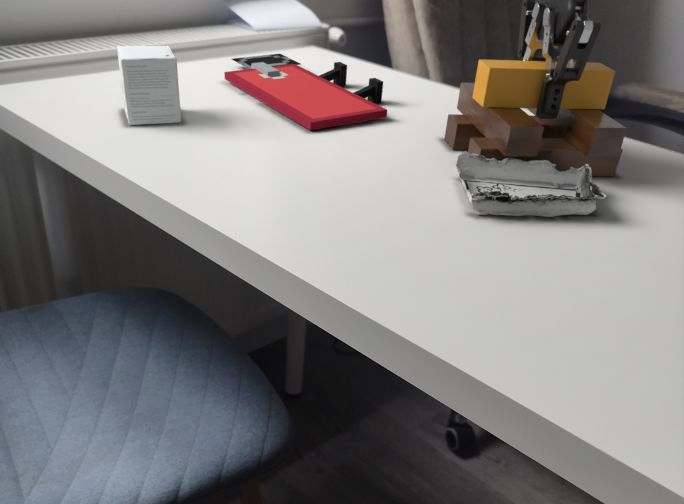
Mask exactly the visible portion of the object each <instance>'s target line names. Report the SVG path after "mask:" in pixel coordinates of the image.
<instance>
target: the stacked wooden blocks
mask: <svg viewBox="0 0 684 504" xmlns="http://www.w3.org/2000/svg"><path fill="white" fill-rule="evenodd" d="M474 85H475V82H460V87H459V92H458V99H457V104H456V105H457V106H456V110H458V112H460V113H461V114H459V113H458V114H457V113H455V114H453V113H452V114H450V113H449V114H448V115H447V119H446V126H445V133H444V141H445V142H446V143H447V144H448V146H449V147H450V149H452V151H467V152H468V153H471V154H472V153H474V154H478V155H482V156H484V157H485V158H487V159H492V158H496V160H497V161H503V160H504V159H506V158H516V159H518V160H519V159H521V160H522V161H526V162H528V161H531V160H548V161H549V162H551V163H552V164H556V166H555V169H557V170H558V171H560V172H564V171H568V170H569V169H570V167H574V168H576V169H579V168H581V167H583V166H584V165H585V164H588V165H589V167H591V172H592V177H615V176H616V173H617V170H618V166H619V163H620V159H621V157H622V153H623V148H622V145H623V143H624V139H625V136H626V133H627V130H628V128H627V127H626V126H625V125H622V124H621V123H619V122H618V121H617V120H615V119H613V118H612V117H611V116H609V115H607V114H605V113H604V112H602V110H601V109H559V113H558V116H557V117H556V118H555V119H540V118H539V117H538V116H537V115H536V111H537V108H527V110H528V111H529V112H530V113H531V114H533V115H530V114H528V113H527V112H526V111H524V110H523V108H492V107H482V106H481V105H480V104H479V103H477V102H476V101H475V100H474V99H473V98H472V96H473V91H474Z"/></svg>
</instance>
